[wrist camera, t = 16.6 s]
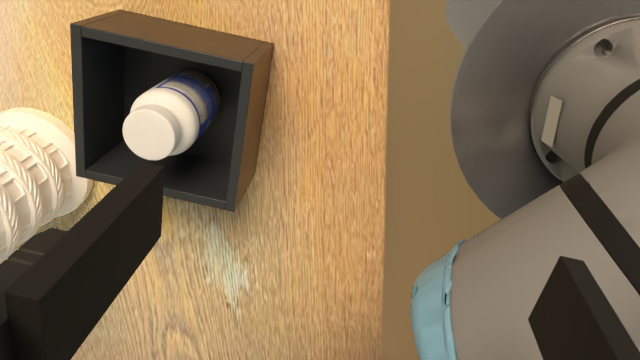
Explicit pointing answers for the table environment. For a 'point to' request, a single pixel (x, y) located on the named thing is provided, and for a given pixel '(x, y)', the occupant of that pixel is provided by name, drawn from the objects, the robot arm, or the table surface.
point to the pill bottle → (171, 115)
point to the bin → (146, 72)
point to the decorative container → (35, 175)
